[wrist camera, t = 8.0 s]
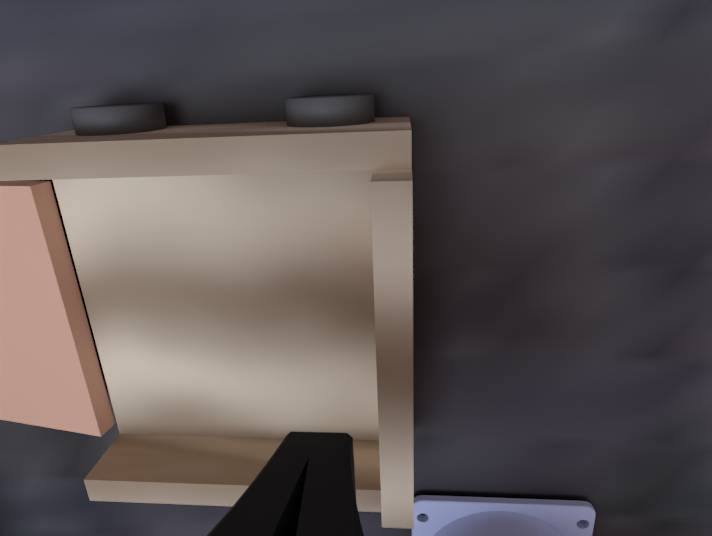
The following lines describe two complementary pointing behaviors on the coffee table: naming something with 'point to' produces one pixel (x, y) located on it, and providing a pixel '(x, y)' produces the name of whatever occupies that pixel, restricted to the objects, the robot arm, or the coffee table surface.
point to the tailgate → (44, 321)
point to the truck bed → (242, 291)
